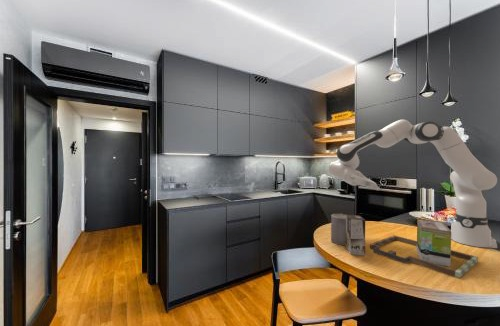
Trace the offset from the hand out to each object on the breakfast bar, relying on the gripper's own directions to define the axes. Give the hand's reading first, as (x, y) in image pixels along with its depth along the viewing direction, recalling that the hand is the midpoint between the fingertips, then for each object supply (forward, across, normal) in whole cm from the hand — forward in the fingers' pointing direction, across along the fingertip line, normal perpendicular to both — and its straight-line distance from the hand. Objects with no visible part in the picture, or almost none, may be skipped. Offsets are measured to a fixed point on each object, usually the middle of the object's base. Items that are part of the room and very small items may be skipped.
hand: (378, 188), depth 115 cm
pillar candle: (-1, -10, +33) cm, 34 cm away
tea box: (+32, +2, +18) cm, 36 cm away
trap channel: (+27, 0, +20) cm, 34 cm away
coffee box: (+9, -16, +30) cm, 36 cm away
